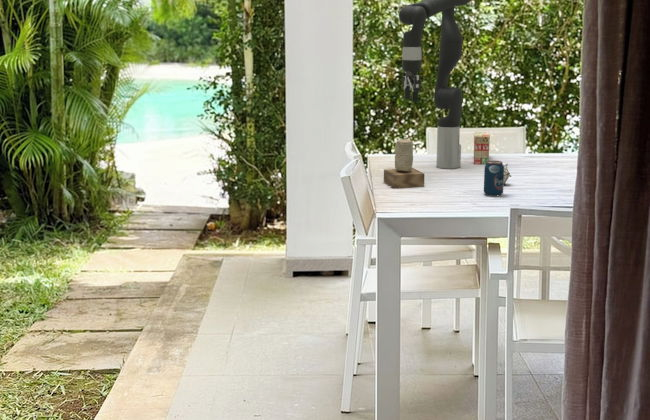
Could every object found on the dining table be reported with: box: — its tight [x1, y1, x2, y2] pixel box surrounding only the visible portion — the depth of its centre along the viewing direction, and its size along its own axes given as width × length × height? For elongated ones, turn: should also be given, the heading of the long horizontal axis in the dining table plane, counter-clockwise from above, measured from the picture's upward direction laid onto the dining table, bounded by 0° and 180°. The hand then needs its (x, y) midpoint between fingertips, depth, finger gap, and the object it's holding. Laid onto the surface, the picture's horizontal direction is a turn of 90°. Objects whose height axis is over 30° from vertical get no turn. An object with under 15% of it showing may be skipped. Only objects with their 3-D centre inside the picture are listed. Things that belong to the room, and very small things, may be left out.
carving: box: [394, 138, 414, 172], centre depth 365 cm, size 6×8×12 cm
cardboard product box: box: [473, 131, 491, 166], centre depth 417 cm, size 21×6×12 cm, turn 172°
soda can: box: [483, 160, 504, 197], centre depth 348 cm, size 7×7×12 cm
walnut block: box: [383, 167, 425, 189], centre depth 367 cm, size 12×12×5 cm
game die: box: [503, 163, 512, 186], centre depth 366 cm, size 9×8×10 cm
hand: (411, 100), depth 377 cm, fingers open, 8 cm apart
